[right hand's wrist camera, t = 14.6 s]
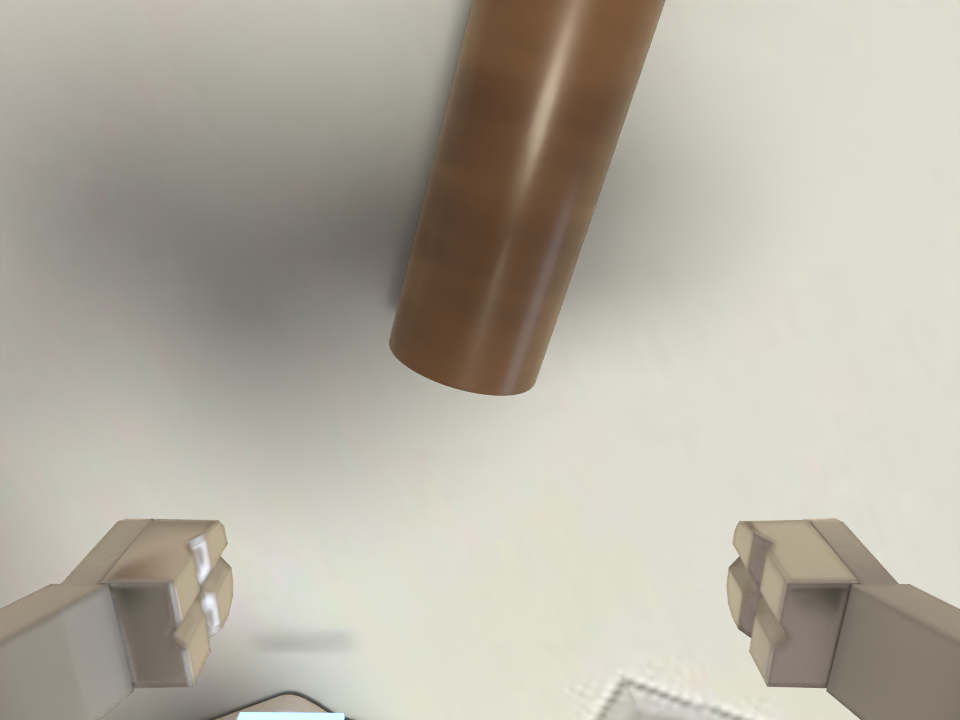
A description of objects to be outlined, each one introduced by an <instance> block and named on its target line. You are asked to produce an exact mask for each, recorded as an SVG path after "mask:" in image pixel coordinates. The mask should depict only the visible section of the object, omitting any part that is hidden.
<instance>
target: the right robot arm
mask: <svg viewBox="0 0 960 720" xmlns="http://www.w3.org/2000/svg"><path fill="white" fill-rule="evenodd" d="M226 545H227V539H226V534H225V529H224V525H223V524H222V523H221V522H220V521H219V520H179V519H156V520H155V519H124V520H121V521H118V522H117V523H116V524H115V525H114V526H113V527H112V528H111V529H110V530H109V532H108V533H107V534H106V535H105V536H104V537H103V538H102V539H101V540H100V542H99V543H98V544H97V545H96V546H95V547H94V548H93V549H92V550H91V552H90V553H89V554H88V555H87V556H86V557H85V558H84V559H83V560H82V562H81V563H80V564H79V565H78V566H77V567H76V568H75V569H74V570H73V572H72V573H71V574H70V575H69V576H68V577H67V578H66V579H65V580H64V582H63V583H62V584H50V585H48V586H46V587H44V588H42V589H40V590H38V591H36V592H34V593H32V594H30V595H28V596H26V597H24V598H22V599H20V600H18V601H16V602H14V603H12V604H10V605H8V606H6V607H3V608H1V609H0V720H100V719H101V718H102V717H103V716H104V715H106V714H107V713H108V712H109V711H110V710H112V709H113V708H114V707H115V706H116V705H118V704H119V703H120V702H121V701H122V700H124V699H125V698H126V697H127V696H128V695H130V694H131V693H132V692H133V688H157V687H192V686H193V685H194V683H195V681H196V679H197V677H198V675H199V673H200V671H201V669H202V667H203V665H204V663H205V662H206V660H207V658H208V656H209V654H210V652H211V650H210V644H209V638H210V637H211V636H212V635H214V634H215V633H217V632H218V631H220V630H221V629H222V628H223V626H224V623H225V621H226V619H227V617H228V615H229V611H230V606H231V602H232V597H233V576H232V569H231V567H230V566H229V565H228V564H227V563H226V561H225V560H224V559H223V558H222V557H221V554H222V552H223V550H224V549H225V547H226ZM733 545H734V547H735V549H736V550H737V552H738V554H739V557H738V558H737V559H736V560H735V561H734V563H733V564H732V565H731V566H730V567H729V570H728V578H727V595H728V604H729V607H730V611H731V614H732V617H733V619H734V621H735V624H736V626H737V628H738V629H739V630H740V631H742V632H743V633H745V634H746V635H748V636H749V637H750V638H751V644H750V650H749V652H750V654H751V656H752V658H753V660H754V661H755V663H756V665H757V667H758V669H759V671H760V673H761V675H762V677H763V679H764V681H765V683H766V685H767V687H802V688H827V690H826V691H827V692H828V693H829V694H831V695H832V696H833V697H834V698H835V699H837V700H838V701H839V702H840V703H841V704H843V705H844V706H845V707H846V708H847V709H849V710H850V711H851V712H852V713H853V714H855V715H856V716H857V717H858V718H859V719H861V720H960V609H958V608H956V607H954V606H952V605H950V604H948V603H946V602H944V601H942V600H940V599H938V598H936V597H934V596H932V595H930V594H928V593H926V592H924V591H922V590H920V589H918V588H916V587H914V586H912V585H910V584H898V583H897V582H896V580H895V579H894V578H893V577H892V576H891V575H890V574H889V573H888V572H887V570H886V569H885V568H884V567H883V566H882V565H881V564H880V563H879V562H878V560H877V559H876V558H875V557H874V556H873V555H872V554H871V553H870V552H869V550H868V549H867V548H866V547H865V546H864V545H863V544H862V543H861V542H860V540H859V539H858V538H857V537H856V536H855V535H854V534H853V533H852V532H851V530H850V529H849V528H848V527H847V526H846V525H845V524H844V523H843V522H842V521H839V520H837V519H835V518H833V519H804V520H780V521H739V522H738V524H737V527H736V529H735V532H734V538H733ZM215 720H344V713H328V712H326V711H325V710H323V709H322V708H320V707H319V706H317V705H315V704H314V703H312V702H310V701H308V700H307V699H305V698H302V697H300V696H296V695H289V694H287V695H281V696H278V697H275V698H272V699H269V700H267V701H264V702H261V703H258V704H256V705H253V706H250V707H248V708H245V709H242V710H239V711H237V712H234V713H231V714H228V715H226V716H223V717H220V718H218V719H215Z"/></svg>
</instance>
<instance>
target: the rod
mask: <svg viewBox="0 0 960 720" xmlns="http://www.w3.org/2000/svg"><path fill="white" fill-rule="evenodd" d="M664 3H665V0H473V1H472V5H471V9H470V13H469V17H468V21H467V25H466V30H465V34H464V38H463V42H462V46H461V50H460V54H459V58H458V62H457V66H456V70H455V74H454V78H453V83H452V87H451V91H450V95H449V99H448V103H447V107H446V111H445V115H444V119H443V123H442V127H441V131H440V136H439V140H438V144H437V148H436V152H435V156H434V160H433V164H432V168H431V172H430V176H429V180H428V184H427V189H426V193H425V197H424V201H423V205H422V209H421V213H420V217H419V221H418V225H417V229H416V233H415V237H414V242H413V246H412V250H411V254H410V258H409V262H408V266H407V270H406V274H405V278H404V282H403V286H402V290H401V295H400V299H399V303H398V307H397V311H396V315H395V319H394V323H393V327H392V331H391V335H390V339H389V346H390V349H391V351H392V353H393V354H394V355H395V356H396V358H397V359H398V360H399V361H401V362H402V363H403V364H404V365H406V366H407V367H408V368H410V369H412V370H413V371H415V372H416V373H418V374H420V375H422V376H424V377H426V378H428V379H431V380H433V381H435V382H438V383H441V384H443V385H446V386H449V387H452V388H456V389H460V390H463V391H468V392H473V393H478V394H485V395H496V396H506V395H516V394H520V393H524V392H526V391H528V390H530V389H531V388H532V387H533V386H534V384H535V382H536V379H537V376H538V374H539V371H540V368H541V365H542V362H543V359H544V356H545V353H546V350H547V347H548V344H549V341H550V338H551V335H552V332H553V329H554V326H555V324H556V321H557V318H558V315H559V312H560V309H561V306H562V303H563V300H564V297H565V294H566V291H567V288H568V285H569V282H570V279H571V277H572V274H573V271H574V268H575V265H576V262H577V259H578V256H579V253H580V250H581V247H582V244H583V241H584V238H585V235H586V232H587V229H588V227H589V224H590V221H591V218H592V215H593V212H594V209H595V206H596V203H597V200H598V197H599V194H600V191H601V188H602V185H603V182H604V180H605V177H606V174H607V171H608V168H609V165H610V162H611V159H612V156H613V153H614V150H615V147H616V144H617V141H618V138H619V135H620V132H621V130H622V127H623V124H624V121H625V118H626V115H627V112H628V109H629V106H630V103H631V100H632V97H633V94H634V91H635V88H636V85H637V83H638V80H639V77H640V74H641V71H642V68H643V65H644V62H645V59H646V56H647V53H648V50H649V47H650V44H651V41H652V38H653V35H654V33H655V30H656V27H657V24H658V21H659V18H660V15H661V12H662V9H663V6H664Z"/></svg>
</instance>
